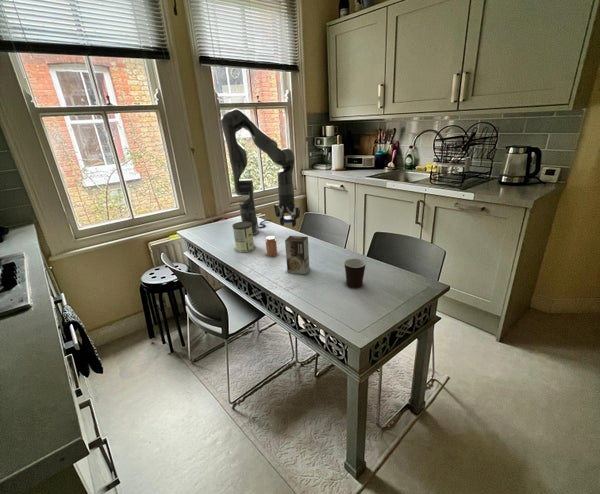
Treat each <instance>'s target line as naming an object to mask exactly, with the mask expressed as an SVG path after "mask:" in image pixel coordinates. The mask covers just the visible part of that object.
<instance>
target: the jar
mask: <svg viewBox="0 0 600 494" xmlns="http://www.w3.org/2000/svg"><path fill="white" fill-rule="evenodd" d="M265 249H266V256H267V257H270V258H273V257H276V256H278V247H277V238H276V237H275V236H274V235H269V236H266V238H265Z"/></svg>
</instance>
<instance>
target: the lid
mask: <svg viewBox="0 0 600 494" xmlns="http://www.w3.org/2000/svg"><path fill="white" fill-rule="evenodd" d="M283 222H284V224H292V218H291V216H290V215H284V217H283Z"/></svg>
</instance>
